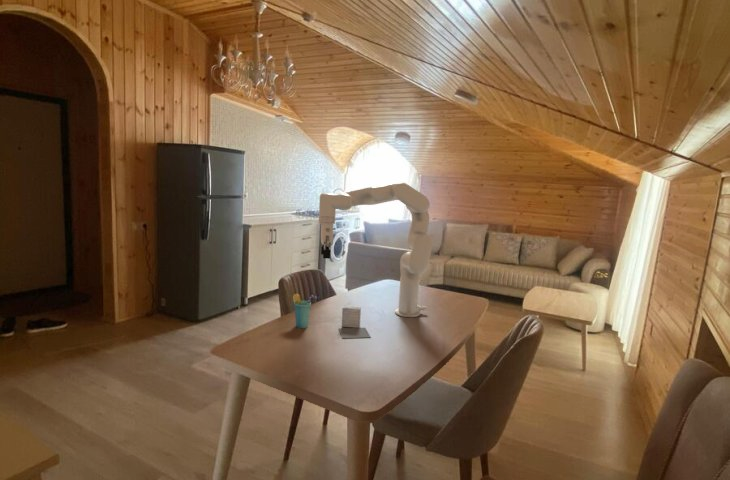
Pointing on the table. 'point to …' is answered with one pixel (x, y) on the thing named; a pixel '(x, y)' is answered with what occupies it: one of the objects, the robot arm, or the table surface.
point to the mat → (354, 333)
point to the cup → (302, 310)
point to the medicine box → (351, 316)
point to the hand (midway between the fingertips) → (325, 256)
